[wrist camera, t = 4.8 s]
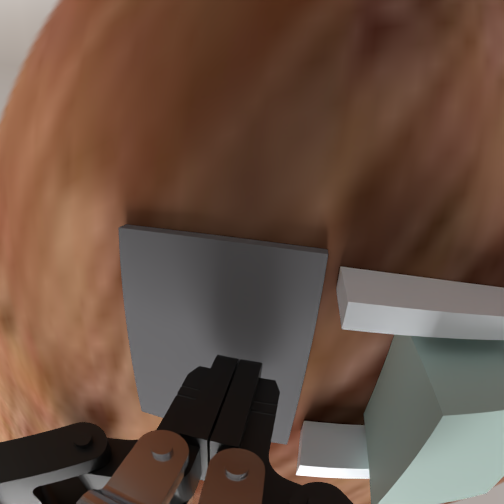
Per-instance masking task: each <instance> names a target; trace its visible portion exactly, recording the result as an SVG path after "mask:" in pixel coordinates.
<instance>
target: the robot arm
mask: <svg viewBox="0 0 504 504" xmlns="http://www.w3.org/2000/svg"><path fill="white" fill-rule="evenodd" d="M261 372H262V363H261V362H255V361H250V360H244V359H240V360H239V359H238V358H233V357H227V356H222V355H217V356H216V358H215V360H214V362H213V364H212V366H211V368H207V367H202V366H198V367H197V368H196V369H194V370H193V371H191V372H190V373H189V374H188V375H187V377H186V378H185V380H184V382H183V384H182V387H180V389H179V391H178V393H177V396H175V398H174V400H173V402H172V403H171V405H170V407H169V409H168V411H167V412H166V414H165V416H164V418H163V419H162V421H161V423H160V425H159V427H158V428H157V430H155V431H151V432H148V433H146V434H144V435H143V436H142V437H141V438H140V439H139V440H122V439H112V438H107V437H106V435H105V433H104V431H103V430H102V429H101V428H100V427H98V426H96V425H94V424H91V423H85V422H82V423H75V424H72V425H69V426H65V427H61V428H58V429H54V430H51V431H47V432H43V433H39V434H35V435H31V436H27V437H23V438H18V439H14V440H9V441H5V442H0V504H191V503H192V501H193V499H194V493H195V490H196V488H197V485H198V483H199V480H204V484H203V487H202V491H201V495H200V499H199V503H198V504H353V503H352V502H351V501H350V500H349V499H348V498H347V497H346V495H345V494H344V493H343V492H342V491H341V490H340V489H338V488H337V487H335V486H333V485H331V484H328V483H324V482H312V483H307V484H305V485H299V484H297V483H294V482H292V481H289V480H287V479H285V478H283V477H281V476H280V475H279V474H277V473H276V472H275V471H274V469H273V468H272V466H271V465H270V462H269V449H270V444H271V439H272V434H273V428H274V423H275V417H276V412H277V406H278V401H279V395H280V391H279V388H278V386H277V383H276V381H275V380H271V379H264V378H261Z"/></svg>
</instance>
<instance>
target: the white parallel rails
mask: <svg viewBox="0 0 504 504" xmlns="http://www.w3.org/2000/svg"><path fill="white" fill-rule="evenodd" d="M336 292H337V299H338V305H339V312H340V320H341V327H342V329H345V330H354V331H363V332H374V333H384V334H395V335H408V336H421V337H436V338H454V339H477V340H504V288H503V287H495V286H487V285H479V284H471V283H464V282H456V281H448V280H441V279H433V278H425V277H417V276H410V275H402V274H394V273H387V272H379V271H371V270H364V269H356V268H349V267H341V266H340V271H339V277H338V282H337V287H336ZM296 475H302V476H313V477H328V478H355V479H370V477H369V463H368V452H367V441H366V432H365V425H349V424H335V423H323V422H313V421H304V422H303V425H302V429H301V434H300V443H299V453H298V462H297V470H296Z"/></svg>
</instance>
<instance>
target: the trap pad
mask: <svg viewBox="0 0 504 504" xmlns="http://www.w3.org/2000/svg"><path fill="white" fill-rule="evenodd" d="M119 247H120V263H121V276H122V287H123V297H124V307H125V315H126V323H127V331H128V338H129V345H130V351H131V358H132V364H133V369H134V375H135V380H136V386H137V391H138V396H139V401H140V405H141V410H142V411H143V412H146V413H149V414H152V415H155V416H159V417H162V418H164V416H165V414H166V412H167V411H168V409H169V407H170V405H171V403H172V402H173V400H174V398H175V396H177V393H178V391H179V389H180V387H182V384H183V382H184V380H185V378H186V377H187V375H188V374H189V373H190V372H191V371H193V370H194V369H196V368H197V367H198V366H202V367H207V368H211V366H212V364H213V362H214V360H215V358H216V356H217V355H222V356H227V357H233V358H238V359H239V360H240V359H244V360H250V361H255V362H261V363H262V372H261V378H264V379H271V380H275V381H276V383H277V386H278V388H279V391H280V395H279V401H278V406H277V412H276V417H275V423H274V428H273V434H272V439H271V442H274V443H281V444H287V442H288V439H289V435H290V431H291V428H292V424H293V420H294V416H295V412H296V409H297V405H298V401H299V397H300V393H301V388H302V384H303V380H304V376H305V371H306V367H307V363H308V358H309V354H310V349H311V344H312V340H313V335H314V330H315V325H316V320H317V315H318V310H319V304H320V299H321V294H322V288H323V283H324V277H325V271H326V265H327V259H328V250H327V249H321V248H313V247H306V246H298V245H290V244H283V243H275V242H267V241H259V240H251V239H243V238H236V237H227V236H219V235H211V234H203V233H195V232H187V231H178V230H170V229H161V228H153V227H144V226H136V225H127V224H126V225H124V226H121V227H119Z"/></svg>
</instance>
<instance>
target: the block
mask: <svg viewBox="0 0 504 504" xmlns="http://www.w3.org/2000/svg"><path fill="white" fill-rule="evenodd" d="M364 423H365V432H366V441H367V452H368V463H369V477H370V492H371V504H440V503H446V502H451V501H456V500H461V499H465V498H470V497H474V496H478V495H482V494H486V493H487V492H488V491H489V490H490V489H491V488H492V487H493V486H494V485H495V484H496V483H497V482H498V481H499V480H500V479H501V478H502V477H503V476H504V340H477V339H454V338H436V337H421V336H408V335H395V334H394V337H393V340H392V343H391V346H390V349H389V352H388V354H387V357H386V360H385V363H384V365H383V368H382V371H381V373H380V376H379V378H378V381H377V383H376V386H375V388H374V391H373V393H372V395H371V398H370V400H369V403H368V405H367V407H366V409H365V412H364Z"/></svg>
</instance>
